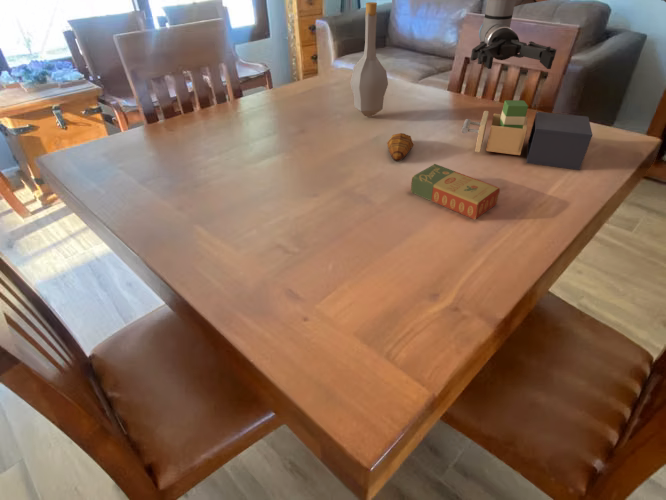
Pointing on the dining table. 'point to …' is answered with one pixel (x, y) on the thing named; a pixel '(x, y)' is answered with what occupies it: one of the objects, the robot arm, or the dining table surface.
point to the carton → (455, 190)
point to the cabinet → (559, 140)
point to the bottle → (369, 71)
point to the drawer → (498, 135)
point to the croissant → (399, 146)
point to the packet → (513, 114)
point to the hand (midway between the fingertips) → (520, 62)
